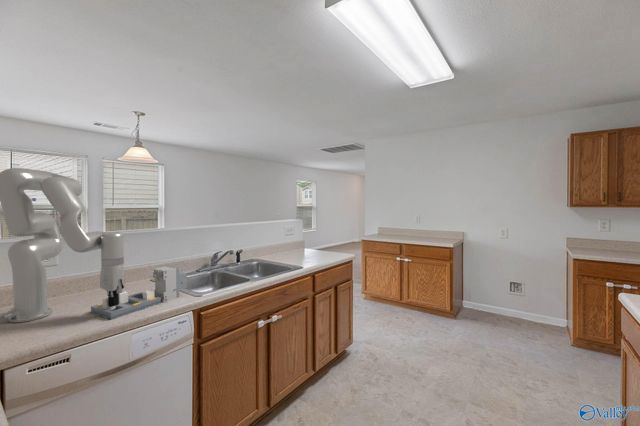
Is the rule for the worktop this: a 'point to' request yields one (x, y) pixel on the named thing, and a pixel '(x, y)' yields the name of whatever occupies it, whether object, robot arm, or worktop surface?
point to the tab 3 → (148, 294)
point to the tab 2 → (123, 297)
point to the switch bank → (126, 306)
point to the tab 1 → (105, 305)
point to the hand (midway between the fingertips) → (113, 305)
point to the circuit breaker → (169, 282)
